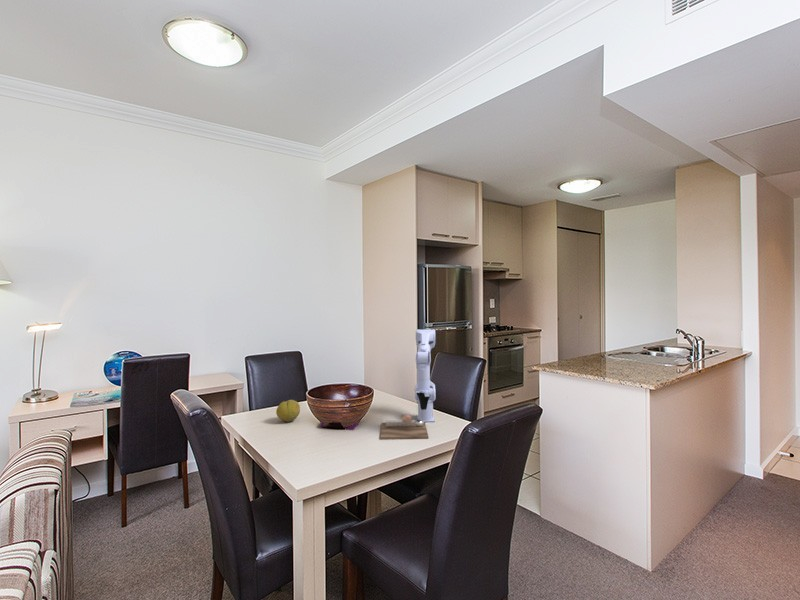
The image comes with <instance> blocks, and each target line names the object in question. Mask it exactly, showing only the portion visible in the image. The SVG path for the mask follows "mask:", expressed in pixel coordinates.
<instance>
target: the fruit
mask: <svg viewBox="0 0 800 600" xmlns="http://www.w3.org/2000/svg"><path fill="white" fill-rule="evenodd" d="M300 412H301V406H300V404H299V402H298V401H296V400H294V399H288V400H286V401H285V400H284V401H281V403H279V405H278V406H277V408H276V412H275V413H276V416H277V418H278V419H279V420H282V421H284V422H288V423H289V422H293V421H295V420H296V419H297V417H298V416H299V415H300Z"/></svg>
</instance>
